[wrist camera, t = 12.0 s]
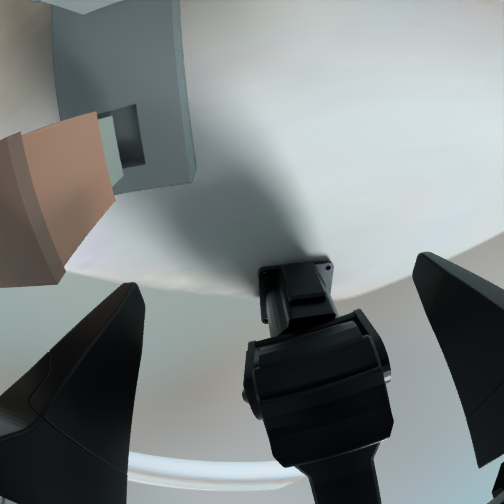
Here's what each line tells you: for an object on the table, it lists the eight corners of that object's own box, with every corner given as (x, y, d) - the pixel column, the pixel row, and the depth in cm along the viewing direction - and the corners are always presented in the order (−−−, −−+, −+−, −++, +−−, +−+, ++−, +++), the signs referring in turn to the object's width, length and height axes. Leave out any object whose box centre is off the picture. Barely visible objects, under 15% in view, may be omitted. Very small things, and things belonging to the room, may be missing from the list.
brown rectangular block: (134, 183, 13) (57, 284, 6) (83, 193, 13) (-5, 288, 6) (120, 103, 11) (6, 137, 4) (66, 120, 11) (-51, 172, 4)
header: (196, 169, 19) (191, 182, 17) (96, 186, 19) (79, 201, 16) (177, -54, 9) (169, -72, 7) (74, -21, 9) (55, -30, 7)
